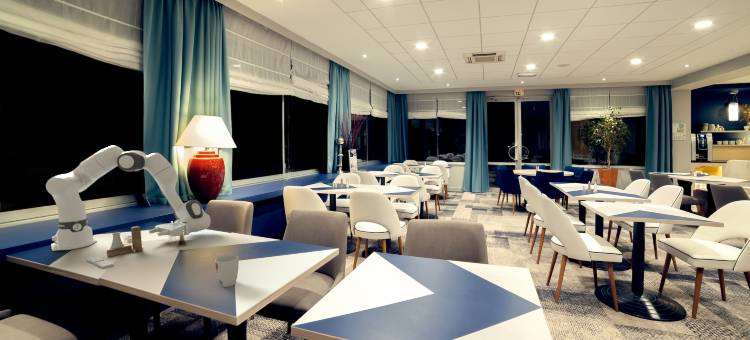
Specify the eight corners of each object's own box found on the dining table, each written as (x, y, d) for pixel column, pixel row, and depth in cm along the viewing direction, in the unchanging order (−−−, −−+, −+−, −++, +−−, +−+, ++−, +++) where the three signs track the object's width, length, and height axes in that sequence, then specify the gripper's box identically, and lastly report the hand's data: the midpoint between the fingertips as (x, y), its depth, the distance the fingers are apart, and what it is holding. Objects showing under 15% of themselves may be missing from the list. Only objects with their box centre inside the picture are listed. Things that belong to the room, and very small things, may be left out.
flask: (130, 251, 180) (128, 231, 179) (116, 255, 173) (114, 235, 172) (119, 250, 182) (117, 230, 181) (105, 254, 175) (103, 234, 174)
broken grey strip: (86, 260, 166) (86, 258, 166) (96, 258, 169) (96, 256, 169) (102, 268, 155) (102, 266, 155) (113, 265, 158) (113, 263, 158)
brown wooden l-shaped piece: (94, 251, 180) (92, 227, 179) (126, 244, 191) (124, 222, 190) (110, 257, 169) (108, 232, 168) (143, 249, 180) (141, 226, 179)
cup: (221, 280, 138) (219, 255, 138) (242, 279, 139) (241, 254, 138) (213, 289, 130) (211, 262, 129) (236, 287, 131) (234, 261, 130)
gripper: (171, 219, 202) (144, 224, 191) (189, 223, 190) (162, 229, 179) (172, 230, 202) (145, 236, 191) (190, 235, 191) (163, 241, 179)
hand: (153, 233), depth 185 cm, fingers open, 8 cm apart
